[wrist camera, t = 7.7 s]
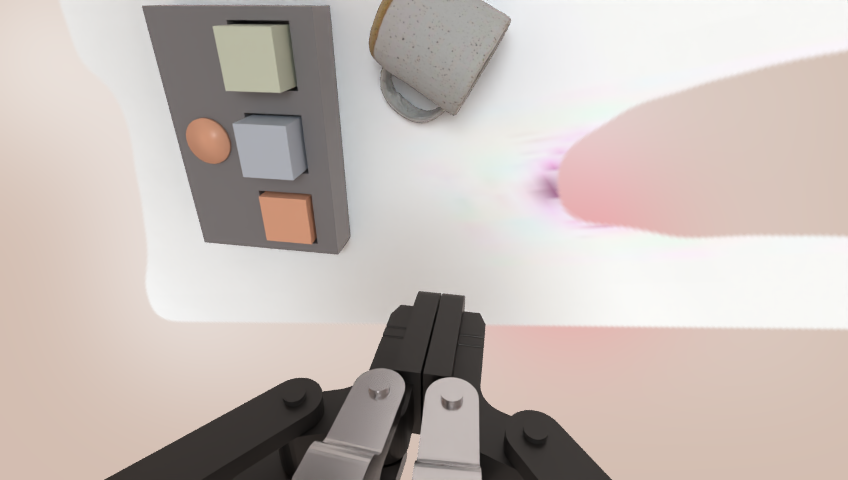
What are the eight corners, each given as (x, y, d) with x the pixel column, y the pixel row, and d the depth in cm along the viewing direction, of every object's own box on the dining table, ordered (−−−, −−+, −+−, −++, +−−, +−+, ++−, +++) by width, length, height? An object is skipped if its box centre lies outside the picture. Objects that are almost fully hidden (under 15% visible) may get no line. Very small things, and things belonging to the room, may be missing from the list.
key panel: (172, 5, 38) (138, 5, 34) (329, 5, 36) (309, 6, 32) (224, 226, 48) (202, 244, 44) (350, 236, 46) (336, 256, 42)
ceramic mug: (419, -41, 33) (395, -48, 27) (514, 16, 34) (512, 23, 27) (365, 88, 39) (333, 108, 32) (447, 135, 39) (433, 165, 33)
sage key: (236, 23, 35) (212, 26, 32) (290, 24, 34) (270, 26, 32) (247, 83, 37) (225, 90, 34) (298, 85, 36) (280, 92, 34)
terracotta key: (275, 183, 43) (258, 196, 40) (319, 186, 42) (305, 200, 40) (282, 225, 45) (266, 240, 43) (324, 228, 45) (311, 244, 42)
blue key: (252, 114, 38) (232, 123, 36) (302, 116, 38) (285, 125, 35) (261, 164, 40) (243, 177, 38) (308, 167, 40) (293, 180, 37)
